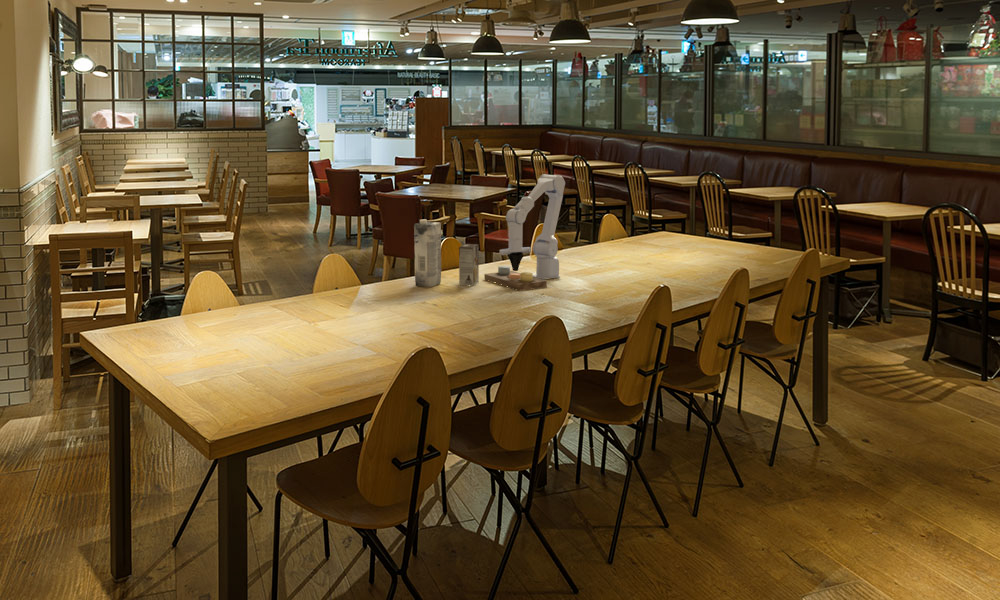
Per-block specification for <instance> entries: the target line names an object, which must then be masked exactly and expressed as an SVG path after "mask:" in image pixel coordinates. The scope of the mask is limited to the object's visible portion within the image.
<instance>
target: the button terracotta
mask: <svg viewBox="0 0 1000 600" xmlns="http://www.w3.org/2000/svg"><path fill="white" fill-rule="evenodd" d="M509 278H511V279H519V278H521V274H516V273H514V274H509Z"/></svg>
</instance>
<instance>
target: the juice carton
mask: <svg viewBox="0 0 1000 600" xmlns="http://www.w3.org/2000/svg"><path fill="white" fill-rule="evenodd" d="M441 226H442V222H437V221H428V220H427V219H425V218H424V219H419V223H414V225H413V228H414V229H413V230H414V233H413V234H414V235H413V236H414V237H413V239H414V279H415V280H414V282H415V286H417V287H425V288H432V287H435V286H438V285H440V284H441V282H442V227H441Z"/></svg>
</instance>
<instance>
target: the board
mask: <svg viewBox="0 0 1000 600" xmlns="http://www.w3.org/2000/svg"><path fill="white" fill-rule="evenodd" d="M514 273H516V274H521V273H522V272H518V271H513V270H510V274H514ZM483 275H484V279H486V280H485V281H487V280H489V281H488V282H490V281H492V282H491V283H493V282H496V283H495V284H497V283H498V284H497V285H500V284H502V285H501V286H503V285H504V287H506V286H508V287H507V288H509V287H510V288H509V289H512V288H514V289H513V290H515V289H517V290H516V291H524V289H526V290H533V288H534V289H540V288H542V289H543V288H547V286H548V282H547V280H546V279H539V278H536V277H533V282H527V283H524V282H521V281H520V278H519V279H511V278H509V275H505V276H501V275H498V271H497V272H489V273H484V274H483Z"/></svg>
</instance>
